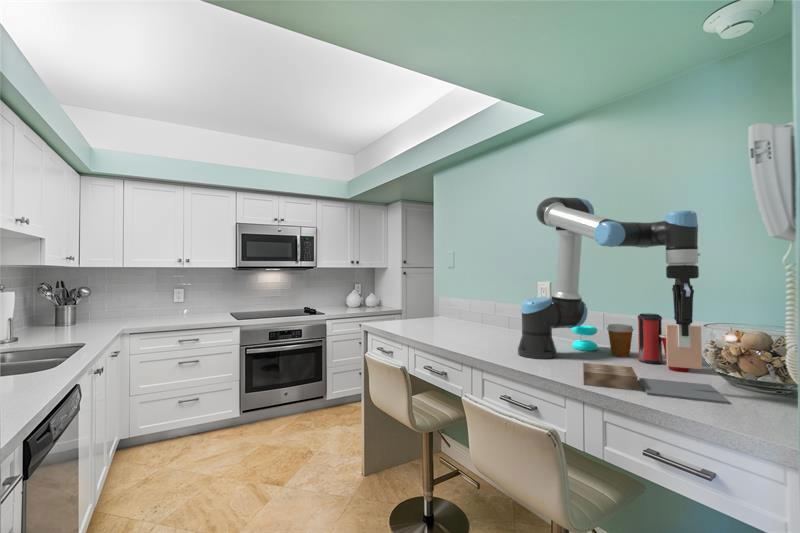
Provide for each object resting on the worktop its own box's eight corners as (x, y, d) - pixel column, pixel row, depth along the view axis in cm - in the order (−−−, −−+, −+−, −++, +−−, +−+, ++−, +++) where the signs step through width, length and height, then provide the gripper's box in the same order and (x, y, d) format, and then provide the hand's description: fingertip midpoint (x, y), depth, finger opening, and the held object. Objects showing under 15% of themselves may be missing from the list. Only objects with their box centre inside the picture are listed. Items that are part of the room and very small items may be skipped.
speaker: (633, 359, 146) (632, 313, 146) (652, 359, 147) (651, 312, 147) (647, 364, 139) (647, 315, 139) (667, 364, 139) (667, 315, 139)
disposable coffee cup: (626, 352, 159) (626, 324, 159) (638, 357, 150) (638, 327, 150) (603, 352, 160) (602, 323, 160) (613, 357, 150) (613, 327, 151)
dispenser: (583, 384, 116) (583, 370, 116) (583, 374, 126) (583, 361, 126) (637, 390, 110) (637, 375, 110) (632, 379, 120) (631, 366, 120)
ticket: (667, 366, 110) (666, 325, 110) (666, 365, 111) (666, 324, 111) (701, 369, 107) (701, 326, 107) (700, 368, 108) (699, 325, 108)
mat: (647, 394, 106) (647, 392, 106) (639, 379, 120) (639, 377, 120) (729, 404, 98) (729, 401, 98) (709, 386, 113) (709, 384, 113)
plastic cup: (689, 366, 135) (688, 333, 135) (704, 375, 125) (704, 338, 125) (654, 365, 138) (654, 332, 138) (666, 372, 128) (666, 337, 128)
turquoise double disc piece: (590, 324, 172) (601, 328, 162) (590, 346, 172) (602, 351, 162) (568, 324, 172) (578, 328, 162) (568, 346, 172) (578, 351, 162)
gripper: (705, 264, 101) (707, 352, 101) (691, 264, 114) (693, 343, 114) (671, 264, 104) (673, 350, 104) (661, 265, 117) (663, 341, 117)
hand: (683, 346), depth 109 cm, fingers closed on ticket
